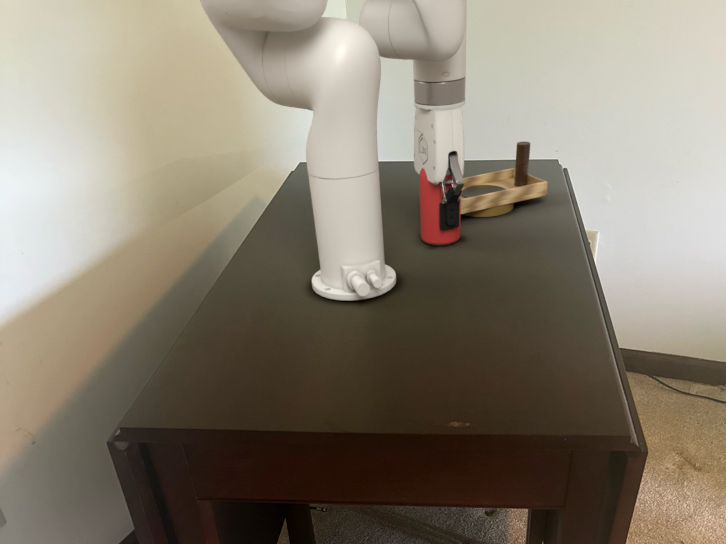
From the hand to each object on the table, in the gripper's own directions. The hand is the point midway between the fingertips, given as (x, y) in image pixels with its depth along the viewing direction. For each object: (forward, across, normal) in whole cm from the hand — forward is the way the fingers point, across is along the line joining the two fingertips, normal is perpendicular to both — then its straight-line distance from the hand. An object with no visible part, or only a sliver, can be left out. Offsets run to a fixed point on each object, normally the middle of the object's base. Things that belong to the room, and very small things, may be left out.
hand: (440, 220), depth 110 cm
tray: (+2, -12, +14) cm, 18 cm away
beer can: (+3, 0, 0) cm, 3 cm away
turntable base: (+3, -12, +14) cm, 18 cm away
